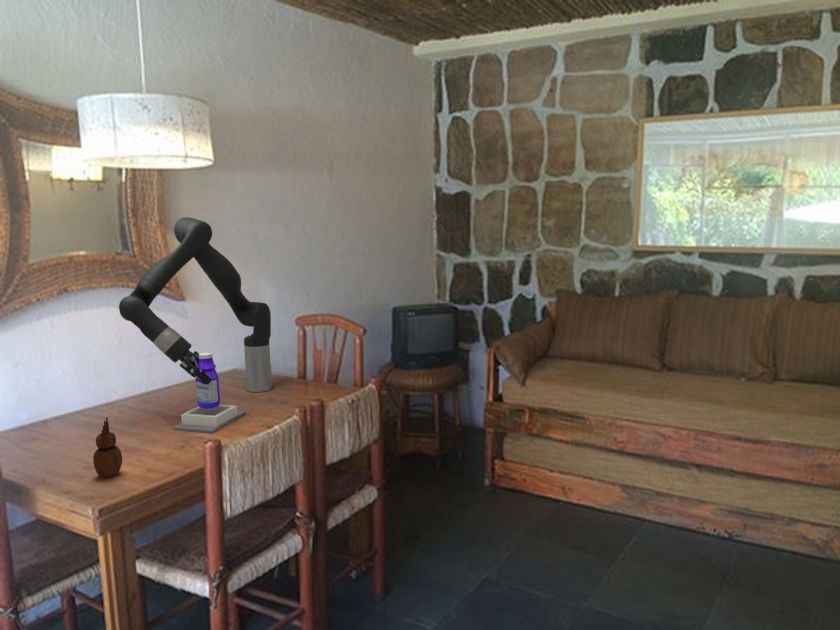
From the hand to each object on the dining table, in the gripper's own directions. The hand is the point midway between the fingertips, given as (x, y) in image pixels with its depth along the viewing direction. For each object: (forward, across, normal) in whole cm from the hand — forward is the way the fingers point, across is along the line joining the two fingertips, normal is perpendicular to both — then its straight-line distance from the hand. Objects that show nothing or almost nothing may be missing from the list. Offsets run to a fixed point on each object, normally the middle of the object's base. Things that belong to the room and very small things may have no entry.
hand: (212, 379), depth 215 cm
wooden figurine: (-2, -42, +23) cm, 48 cm away
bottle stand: (+9, 0, +11) cm, 14 cm away
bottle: (+5, 0, +8) cm, 9 cm away
